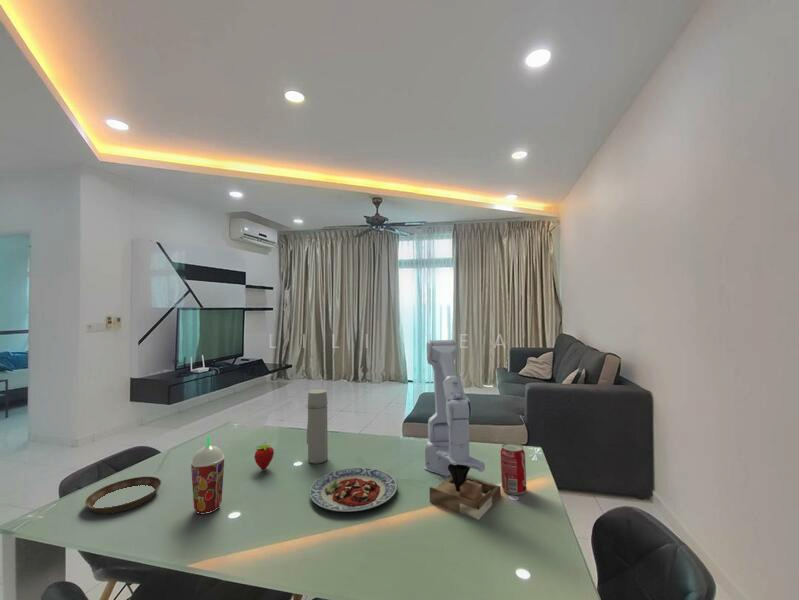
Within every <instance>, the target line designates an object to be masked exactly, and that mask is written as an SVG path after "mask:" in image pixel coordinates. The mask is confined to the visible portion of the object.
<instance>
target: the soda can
mask: <svg viewBox="0 0 799 600" xmlns="http://www.w3.org/2000/svg"><path fill="white" fill-rule="evenodd" d="M526 462H527V461H526V452H525V450H524V446H523V445H521V444H518V443H516V442H515V443H514V442H507V443H503V444H502V445H501V449H500V474H501V475H500V476H501V477H500V479H501V480H500V481H501V488H502V489H503V491H504V492H505V493H507V494H508V495H512V496H521V495H524V494H525V493H526V492H527V467H526V465H527V463H526Z"/></svg>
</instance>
